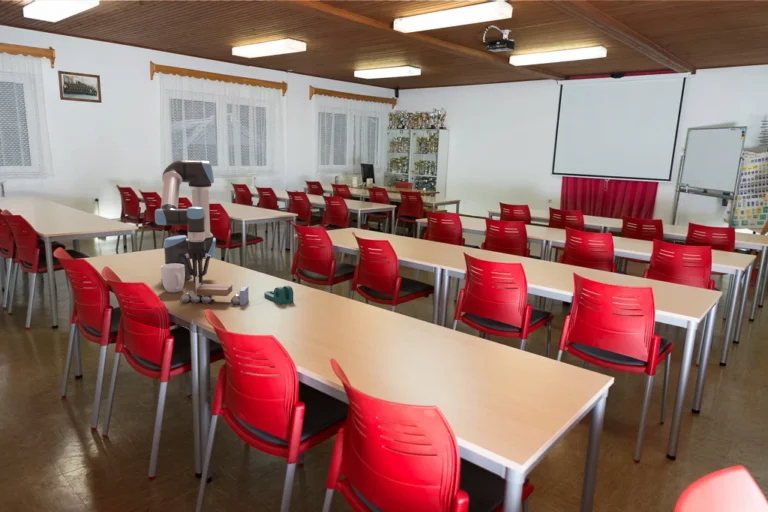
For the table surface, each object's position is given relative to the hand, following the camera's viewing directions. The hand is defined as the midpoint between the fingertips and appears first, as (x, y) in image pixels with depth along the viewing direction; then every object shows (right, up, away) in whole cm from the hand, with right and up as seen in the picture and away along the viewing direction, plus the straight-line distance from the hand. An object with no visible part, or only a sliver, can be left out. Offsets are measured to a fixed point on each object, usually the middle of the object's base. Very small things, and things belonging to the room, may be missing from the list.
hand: (198, 289), depth 242 cm
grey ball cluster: (-1, -6, +1) cm, 6 cm away
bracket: (+36, -6, +9) cm, 37 cm away
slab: (+8, -2, +1) cm, 8 cm away
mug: (-18, -2, +16) cm, 24 cm away
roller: (+18, -5, +1) cm, 19 cm away
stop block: (+21, -6, +1) cm, 22 cm away
